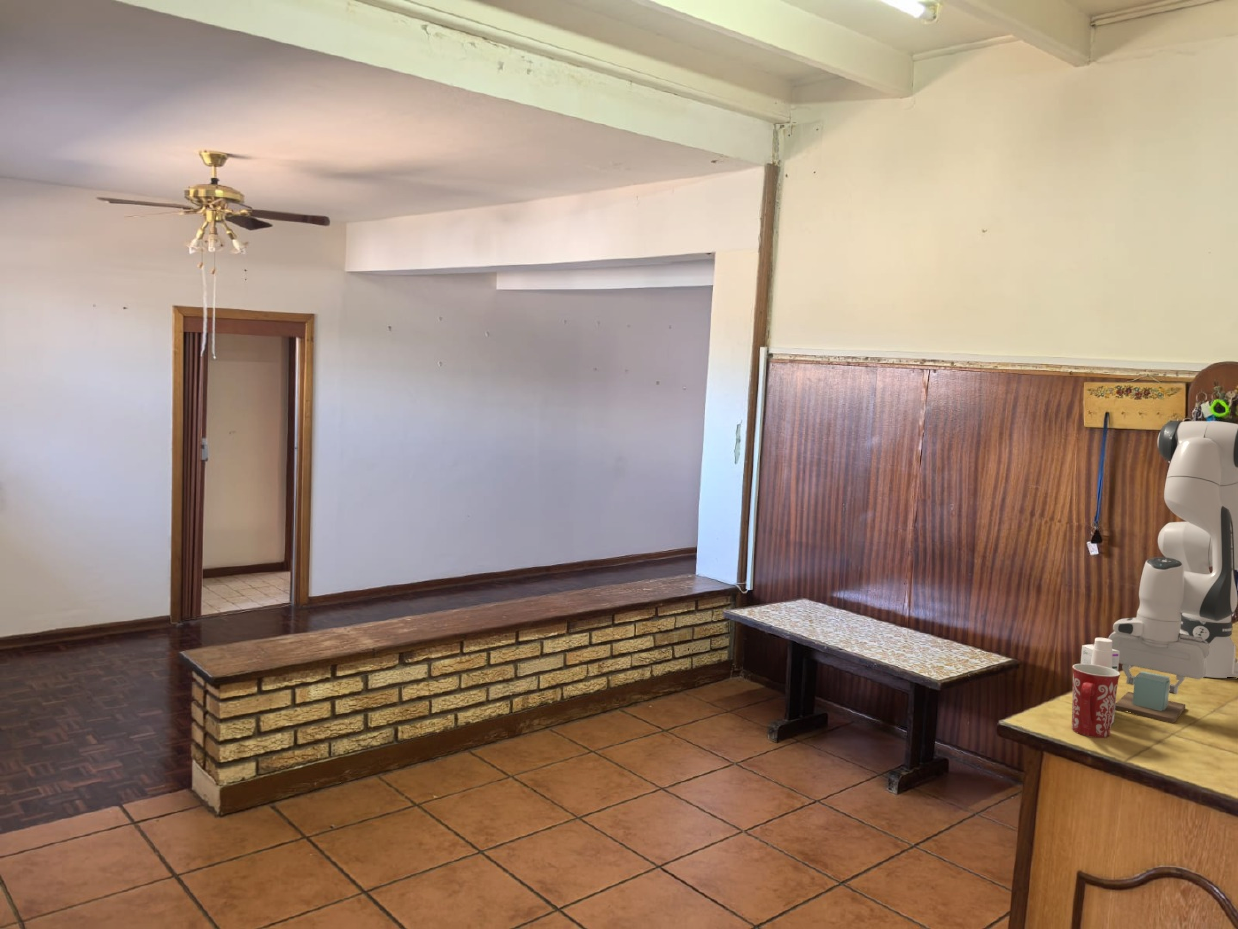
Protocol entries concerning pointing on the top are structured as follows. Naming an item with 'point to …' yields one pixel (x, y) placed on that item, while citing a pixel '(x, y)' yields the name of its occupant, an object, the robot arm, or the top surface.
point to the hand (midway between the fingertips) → (1151, 688)
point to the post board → (1165, 715)
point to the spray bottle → (1103, 656)
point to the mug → (1093, 699)
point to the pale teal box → (1151, 691)
